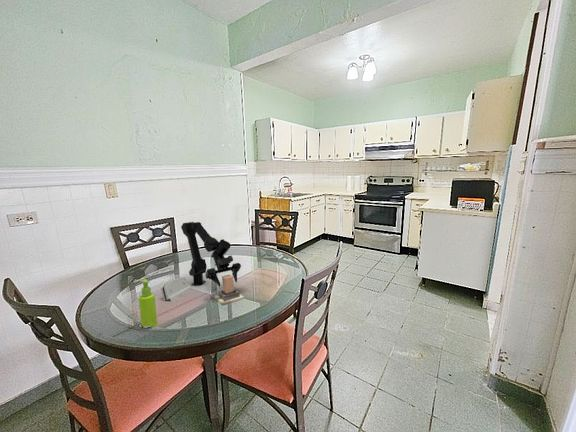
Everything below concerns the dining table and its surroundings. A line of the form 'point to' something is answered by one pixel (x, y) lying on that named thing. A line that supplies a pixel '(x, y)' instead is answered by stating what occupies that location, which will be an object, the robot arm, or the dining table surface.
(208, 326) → the dining table surface
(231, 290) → the brown rectangular block
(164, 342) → the dining table surface
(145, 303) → the soap dispenser
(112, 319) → the dining table surface
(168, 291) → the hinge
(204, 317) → the dining table surface
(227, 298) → the square socket base
